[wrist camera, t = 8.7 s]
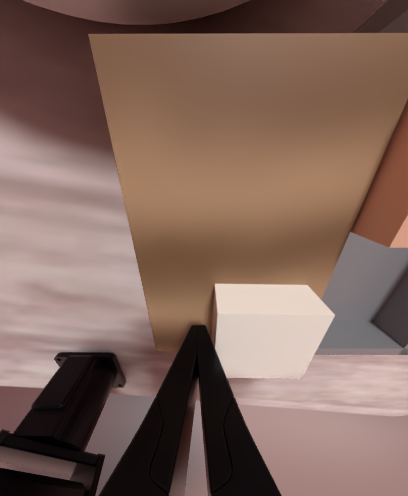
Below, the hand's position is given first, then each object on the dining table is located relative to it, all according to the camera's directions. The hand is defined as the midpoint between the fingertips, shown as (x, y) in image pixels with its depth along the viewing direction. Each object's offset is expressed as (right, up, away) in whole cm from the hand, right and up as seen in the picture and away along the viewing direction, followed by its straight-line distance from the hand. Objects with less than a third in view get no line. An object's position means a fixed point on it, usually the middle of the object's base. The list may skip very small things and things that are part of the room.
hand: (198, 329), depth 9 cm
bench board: (+2, +6, +3) cm, 7 cm away
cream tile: (+3, 0, +1) cm, 3 cm away
